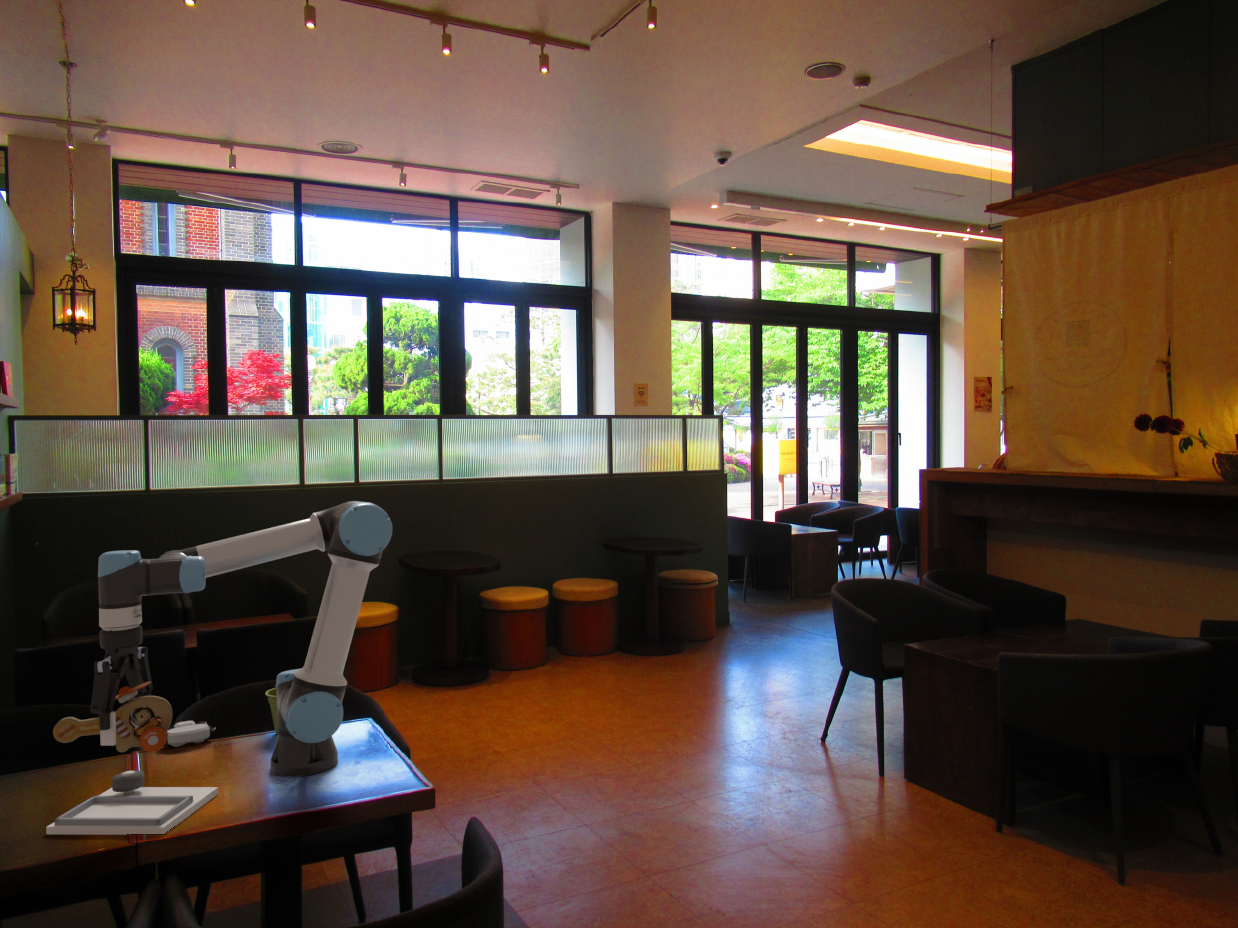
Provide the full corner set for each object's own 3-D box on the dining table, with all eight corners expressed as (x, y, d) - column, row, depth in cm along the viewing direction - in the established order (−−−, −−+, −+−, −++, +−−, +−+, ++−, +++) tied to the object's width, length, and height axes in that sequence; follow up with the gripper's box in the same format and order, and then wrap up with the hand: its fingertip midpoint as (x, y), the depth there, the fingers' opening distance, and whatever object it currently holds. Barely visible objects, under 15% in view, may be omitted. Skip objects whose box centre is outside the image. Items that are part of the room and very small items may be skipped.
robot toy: (157, 741, 224) (163, 753, 212) (157, 724, 224) (162, 734, 212) (208, 732, 231) (216, 743, 218) (207, 715, 231) (216, 725, 219)
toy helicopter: (172, 749, 172) (171, 682, 171) (50, 767, 162) (49, 696, 162) (173, 737, 179) (172, 673, 179) (57, 754, 170) (55, 686, 169)
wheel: (150, 781, 185) (150, 767, 185) (133, 791, 179) (132, 777, 179) (124, 781, 185) (123, 767, 185) (106, 791, 179) (105, 777, 179)
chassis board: (218, 793, 185) (217, 780, 185) (164, 834, 165) (163, 819, 165) (112, 793, 186) (112, 780, 186) (46, 834, 166) (46, 819, 166)
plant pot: (322, 727, 229) (321, 686, 229) (287, 741, 219) (286, 698, 219) (292, 722, 235) (291, 682, 235) (256, 735, 224) (255, 693, 224)
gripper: (103, 638, 161) (106, 755, 161) (170, 616, 182) (172, 720, 182) (65, 638, 161) (68, 755, 161) (136, 616, 183) (139, 720, 183)
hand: (123, 736), depth 172 cm, fingers closed on toy helicopter, 9 cm apart
